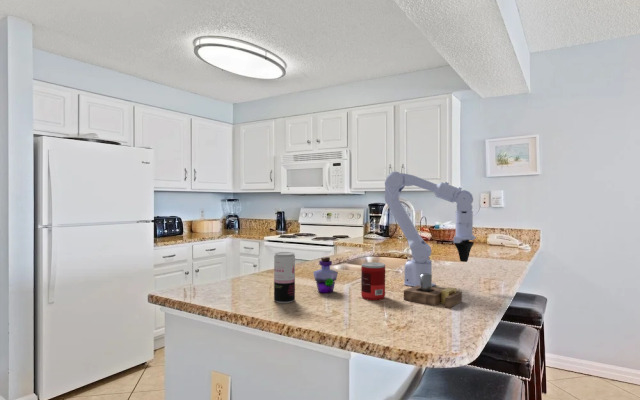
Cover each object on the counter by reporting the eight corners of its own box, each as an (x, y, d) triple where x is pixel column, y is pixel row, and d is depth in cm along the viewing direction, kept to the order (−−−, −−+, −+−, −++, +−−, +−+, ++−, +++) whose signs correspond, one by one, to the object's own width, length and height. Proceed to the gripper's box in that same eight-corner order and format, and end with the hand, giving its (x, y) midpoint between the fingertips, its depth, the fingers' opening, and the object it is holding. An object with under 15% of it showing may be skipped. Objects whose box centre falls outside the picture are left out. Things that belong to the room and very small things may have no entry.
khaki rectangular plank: (441, 303, 122) (441, 290, 122) (448, 299, 127) (448, 287, 127) (448, 304, 120) (448, 291, 120) (456, 300, 125) (456, 288, 125)
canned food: (387, 296, 131) (387, 263, 131) (381, 301, 124) (381, 266, 124) (365, 293, 134) (365, 261, 134) (358, 299, 127) (358, 265, 127)
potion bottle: (324, 295, 131) (324, 259, 131) (308, 291, 137) (308, 256, 137) (343, 291, 137) (343, 257, 137) (326, 287, 143) (326, 254, 143)
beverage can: (285, 297, 129) (286, 251, 129) (299, 300, 125) (299, 253, 124) (269, 300, 125) (270, 253, 125) (282, 304, 120) (283, 255, 120)
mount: (403, 299, 126) (403, 290, 126) (417, 294, 134) (418, 285, 134) (449, 308, 117) (449, 298, 117) (461, 301, 124) (461, 292, 124)
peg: (417, 298, 127) (417, 274, 127) (424, 297, 130) (424, 272, 129) (427, 301, 124) (427, 276, 124) (433, 299, 127) (433, 274, 127)
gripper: (468, 225, 134) (467, 265, 134) (482, 223, 145) (482, 260, 145) (447, 224, 138) (447, 263, 138) (463, 222, 149) (462, 258, 149)
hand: (463, 261), depth 142 cm, fingers closed
